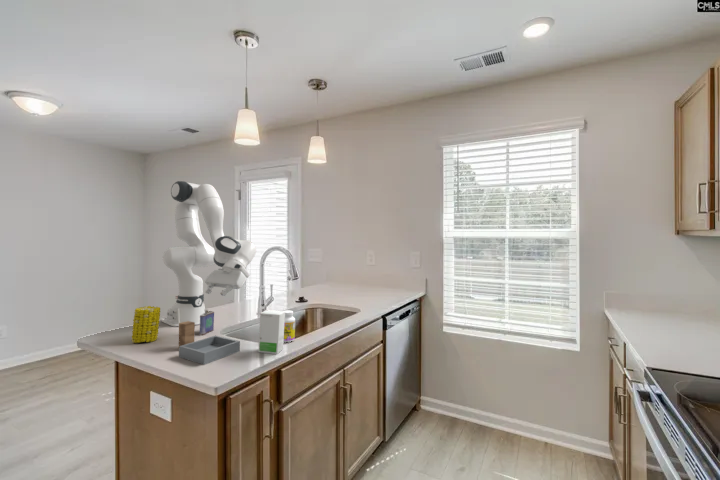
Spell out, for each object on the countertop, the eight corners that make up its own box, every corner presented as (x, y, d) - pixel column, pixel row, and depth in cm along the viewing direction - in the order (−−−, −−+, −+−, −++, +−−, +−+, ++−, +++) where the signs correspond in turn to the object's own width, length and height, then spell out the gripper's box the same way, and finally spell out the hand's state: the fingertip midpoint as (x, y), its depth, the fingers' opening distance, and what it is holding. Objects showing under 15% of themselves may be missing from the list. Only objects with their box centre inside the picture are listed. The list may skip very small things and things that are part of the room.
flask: (203, 335, 152) (203, 311, 152) (197, 335, 152) (197, 311, 152) (215, 330, 161) (215, 307, 161) (209, 329, 161) (209, 307, 161)
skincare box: (257, 352, 132) (258, 313, 132) (264, 347, 138) (265, 309, 138) (278, 354, 131) (279, 314, 131) (284, 348, 137) (285, 310, 137)
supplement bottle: (276, 342, 145) (277, 312, 145) (282, 338, 151) (283, 309, 151) (291, 343, 144) (292, 313, 144) (296, 339, 150) (297, 310, 150)
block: (178, 348, 135) (179, 323, 135) (187, 345, 138) (188, 321, 138) (185, 349, 133) (185, 324, 133) (194, 347, 136) (194, 322, 136)
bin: (178, 357, 125) (179, 346, 125) (215, 345, 139) (215, 335, 139) (204, 364, 119) (204, 353, 119) (239, 351, 133) (239, 341, 133)
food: (126, 346, 139) (149, 340, 149) (147, 343, 135) (169, 338, 145) (123, 309, 141) (145, 306, 150) (143, 305, 137) (165, 302, 147)
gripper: (213, 264, 158) (194, 287, 149) (245, 266, 149) (227, 291, 140) (220, 273, 162) (202, 296, 153) (252, 275, 152) (235, 300, 144)
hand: (214, 294), depth 146 cm, fingers open, 8 cm apart
